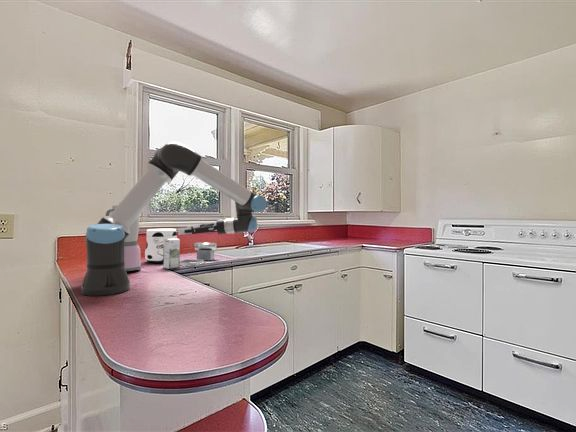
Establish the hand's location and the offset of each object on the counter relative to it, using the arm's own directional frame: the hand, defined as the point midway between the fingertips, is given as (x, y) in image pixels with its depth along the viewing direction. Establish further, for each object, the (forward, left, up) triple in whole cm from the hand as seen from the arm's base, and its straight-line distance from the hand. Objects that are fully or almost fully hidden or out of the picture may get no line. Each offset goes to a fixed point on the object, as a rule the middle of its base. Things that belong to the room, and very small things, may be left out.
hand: (182, 230), depth 157 cm
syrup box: (0, +6, -19) cm, 20 cm away
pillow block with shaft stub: (+25, -2, -19) cm, 31 cm away
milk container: (+17, +20, -19) cm, 32 cm away
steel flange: (+11, +1, -19) cm, 22 cm away
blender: (-13, +23, -19) cm, 32 cm away
